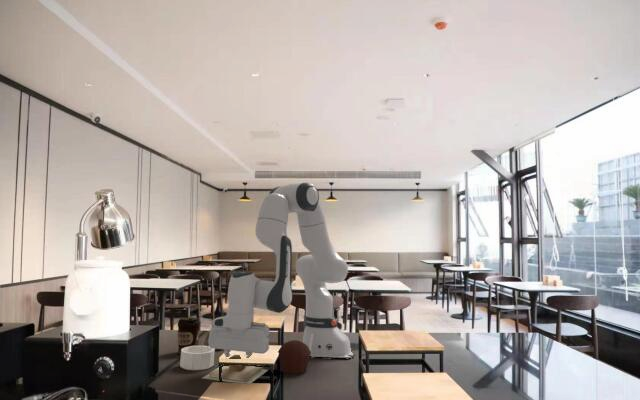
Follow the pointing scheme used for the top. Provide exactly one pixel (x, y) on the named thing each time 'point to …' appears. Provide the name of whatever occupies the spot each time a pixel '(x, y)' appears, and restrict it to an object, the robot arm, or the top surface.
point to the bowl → (197, 357)
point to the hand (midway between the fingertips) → (237, 364)
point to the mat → (237, 380)
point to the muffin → (294, 357)
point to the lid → (236, 371)
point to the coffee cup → (188, 332)
